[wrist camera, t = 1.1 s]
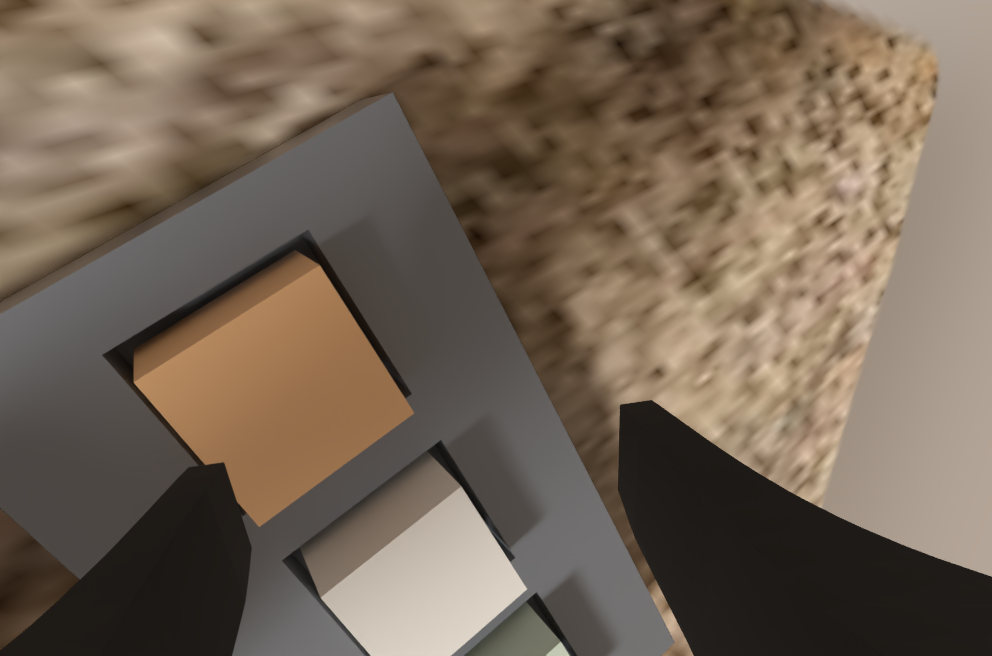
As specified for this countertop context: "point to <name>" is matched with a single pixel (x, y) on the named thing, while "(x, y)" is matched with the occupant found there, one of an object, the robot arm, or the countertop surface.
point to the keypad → (392, 334)
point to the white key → (412, 566)
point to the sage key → (520, 637)
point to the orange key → (272, 384)
